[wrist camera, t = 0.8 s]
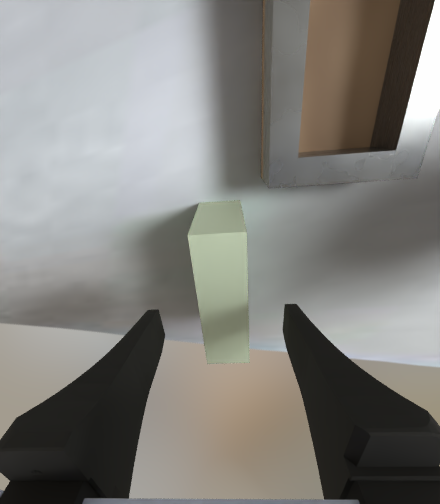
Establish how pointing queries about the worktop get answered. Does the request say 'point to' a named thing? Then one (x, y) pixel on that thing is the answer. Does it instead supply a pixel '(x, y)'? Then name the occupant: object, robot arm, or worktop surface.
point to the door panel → (221, 279)
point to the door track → (347, 89)
